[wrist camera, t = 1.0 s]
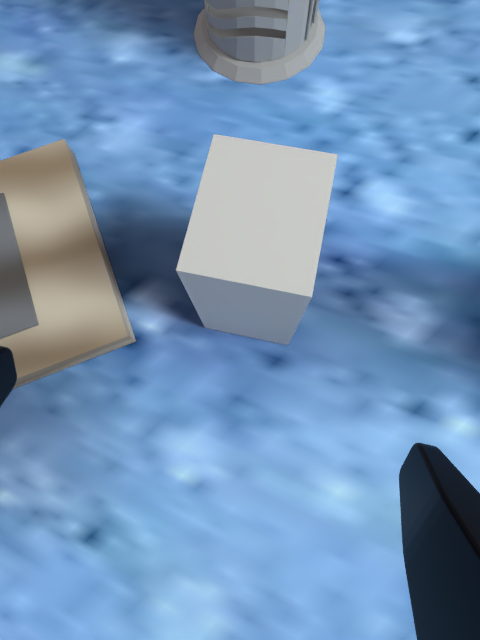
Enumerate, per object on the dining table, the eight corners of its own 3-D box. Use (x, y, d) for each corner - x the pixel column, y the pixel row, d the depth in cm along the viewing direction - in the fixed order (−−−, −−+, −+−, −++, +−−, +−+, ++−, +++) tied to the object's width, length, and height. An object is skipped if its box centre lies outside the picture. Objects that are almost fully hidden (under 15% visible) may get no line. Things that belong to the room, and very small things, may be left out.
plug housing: (288, 345, 22) (311, 297, 13) (205, 328, 23) (175, 270, 14) (305, 252, 24) (337, 154, 15) (227, 237, 24) (213, 134, 15)
